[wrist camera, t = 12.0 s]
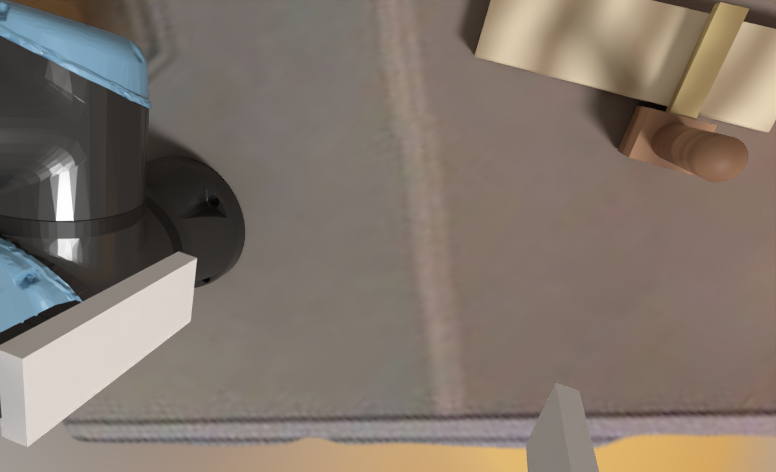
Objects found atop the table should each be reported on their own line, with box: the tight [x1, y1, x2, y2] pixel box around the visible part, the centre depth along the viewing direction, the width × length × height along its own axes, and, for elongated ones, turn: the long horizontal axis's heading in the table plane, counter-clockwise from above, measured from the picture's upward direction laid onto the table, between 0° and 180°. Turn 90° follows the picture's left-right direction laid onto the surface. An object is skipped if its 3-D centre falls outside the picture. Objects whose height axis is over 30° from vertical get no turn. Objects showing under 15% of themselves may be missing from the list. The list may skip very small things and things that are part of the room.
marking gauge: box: [617, 2, 749, 182], centre depth 33 cm, size 5×12×13 cm, turn 166°
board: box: [475, 0, 776, 133], centre depth 38 cm, size 24×7×2 cm, turn 76°
